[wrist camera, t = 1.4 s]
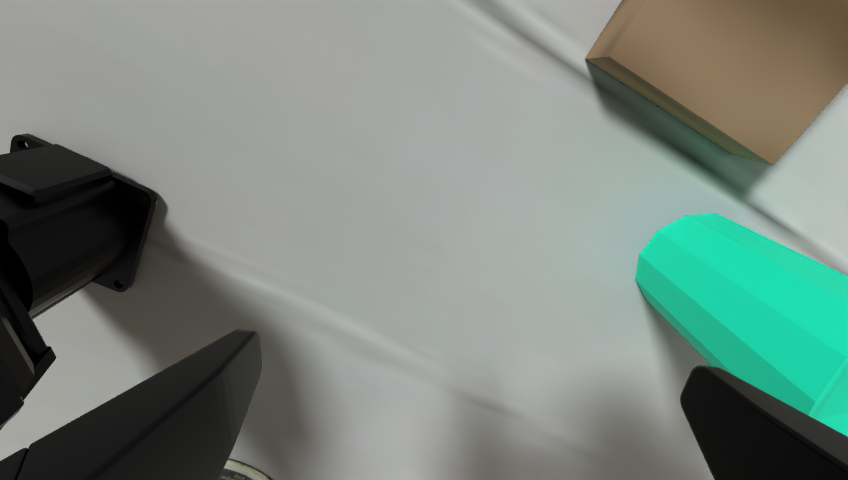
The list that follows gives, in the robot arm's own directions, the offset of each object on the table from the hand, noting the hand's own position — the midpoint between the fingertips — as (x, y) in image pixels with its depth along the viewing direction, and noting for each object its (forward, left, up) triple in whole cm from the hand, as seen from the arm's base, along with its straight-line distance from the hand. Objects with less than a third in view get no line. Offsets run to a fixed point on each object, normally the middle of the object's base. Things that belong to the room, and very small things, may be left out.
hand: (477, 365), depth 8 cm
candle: (+3, -14, -13) cm, 20 cm away
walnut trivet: (+13, -7, -13) cm, 20 cm away
